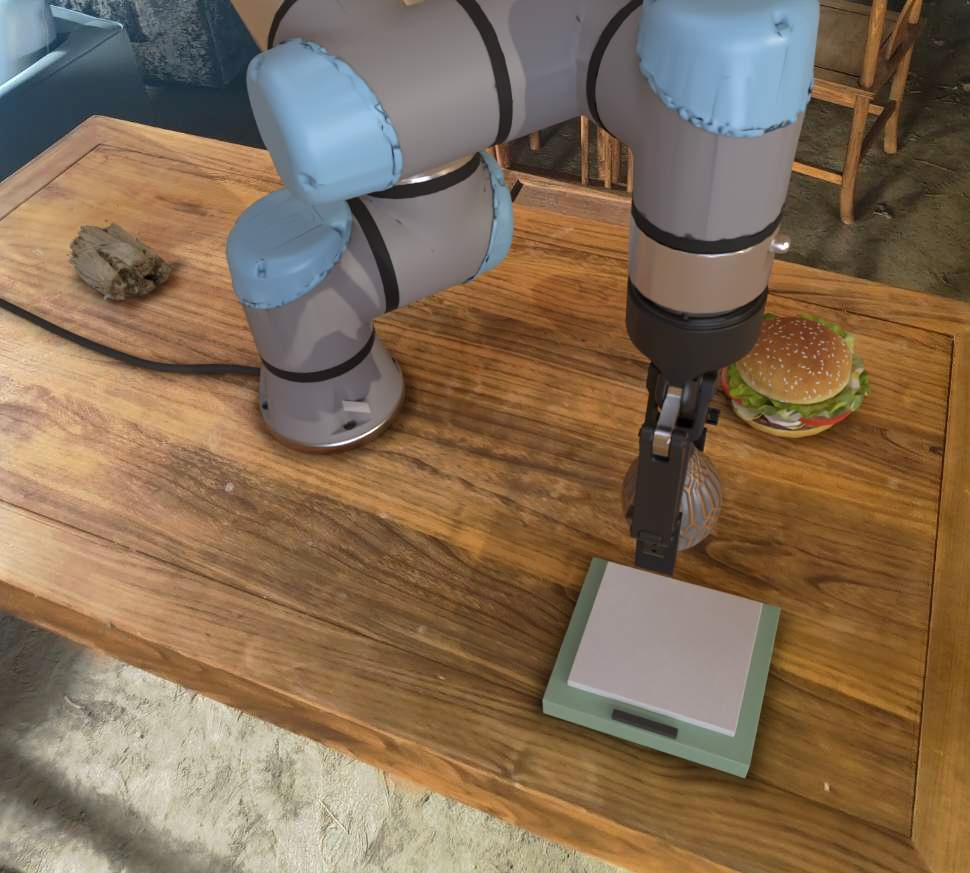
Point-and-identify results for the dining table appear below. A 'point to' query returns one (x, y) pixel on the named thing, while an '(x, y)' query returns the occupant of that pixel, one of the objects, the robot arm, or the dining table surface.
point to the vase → (688, 498)
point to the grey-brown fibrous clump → (116, 262)
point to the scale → (665, 665)
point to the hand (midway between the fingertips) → (667, 524)
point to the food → (796, 377)
